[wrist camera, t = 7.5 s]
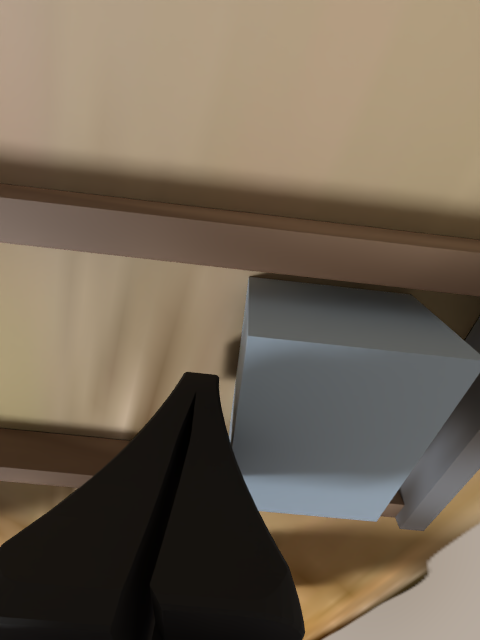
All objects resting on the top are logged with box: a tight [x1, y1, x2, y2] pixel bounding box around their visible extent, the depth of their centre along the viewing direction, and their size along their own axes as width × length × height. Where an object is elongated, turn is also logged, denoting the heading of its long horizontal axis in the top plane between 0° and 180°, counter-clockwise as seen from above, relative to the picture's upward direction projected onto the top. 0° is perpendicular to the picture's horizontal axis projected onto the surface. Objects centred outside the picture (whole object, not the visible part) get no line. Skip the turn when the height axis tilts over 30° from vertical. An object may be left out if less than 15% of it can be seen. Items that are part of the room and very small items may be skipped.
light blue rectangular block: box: [229, 277, 480, 522], centre depth 11 cm, size 8×6×4 cm
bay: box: [0, 184, 480, 531], centre depth 11 cm, size 13×30×2 cm, turn 84°
